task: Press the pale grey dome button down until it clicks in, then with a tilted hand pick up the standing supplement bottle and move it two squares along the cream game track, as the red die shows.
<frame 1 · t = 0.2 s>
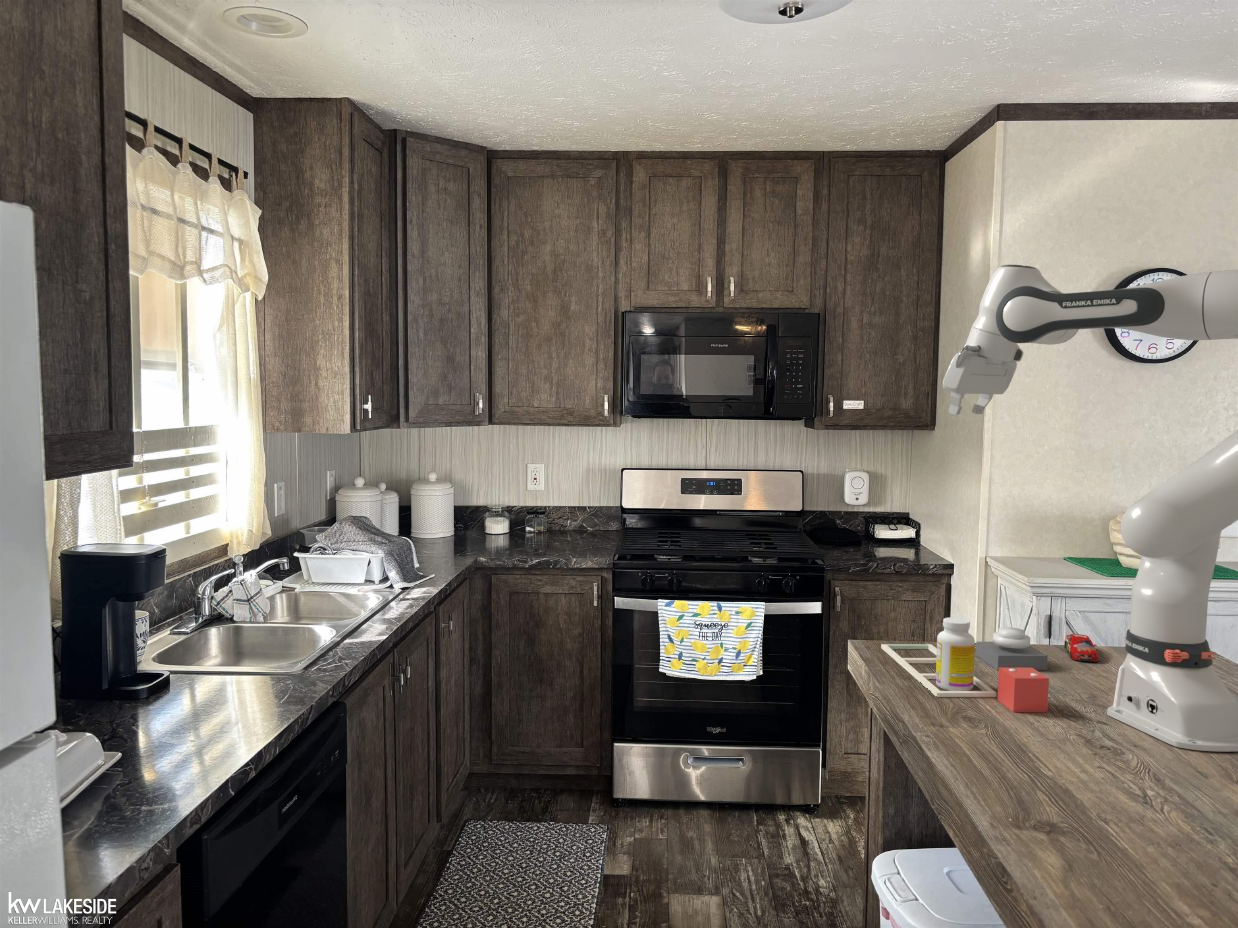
hand: (965, 413, 173), 51 cm above the table, tool tilted 20°, fingers open, 8 cm apart
race car: (1080, 656, 185), on the table
dome: (1011, 636, 178), point 5 cm above the table, slide at 0.0 cm
dome base: (1010, 662, 179), on the table
supplement bottle: (954, 688, 163), resting in track
track: (933, 670, 173), on the table
die: (1021, 705, 154), on the table
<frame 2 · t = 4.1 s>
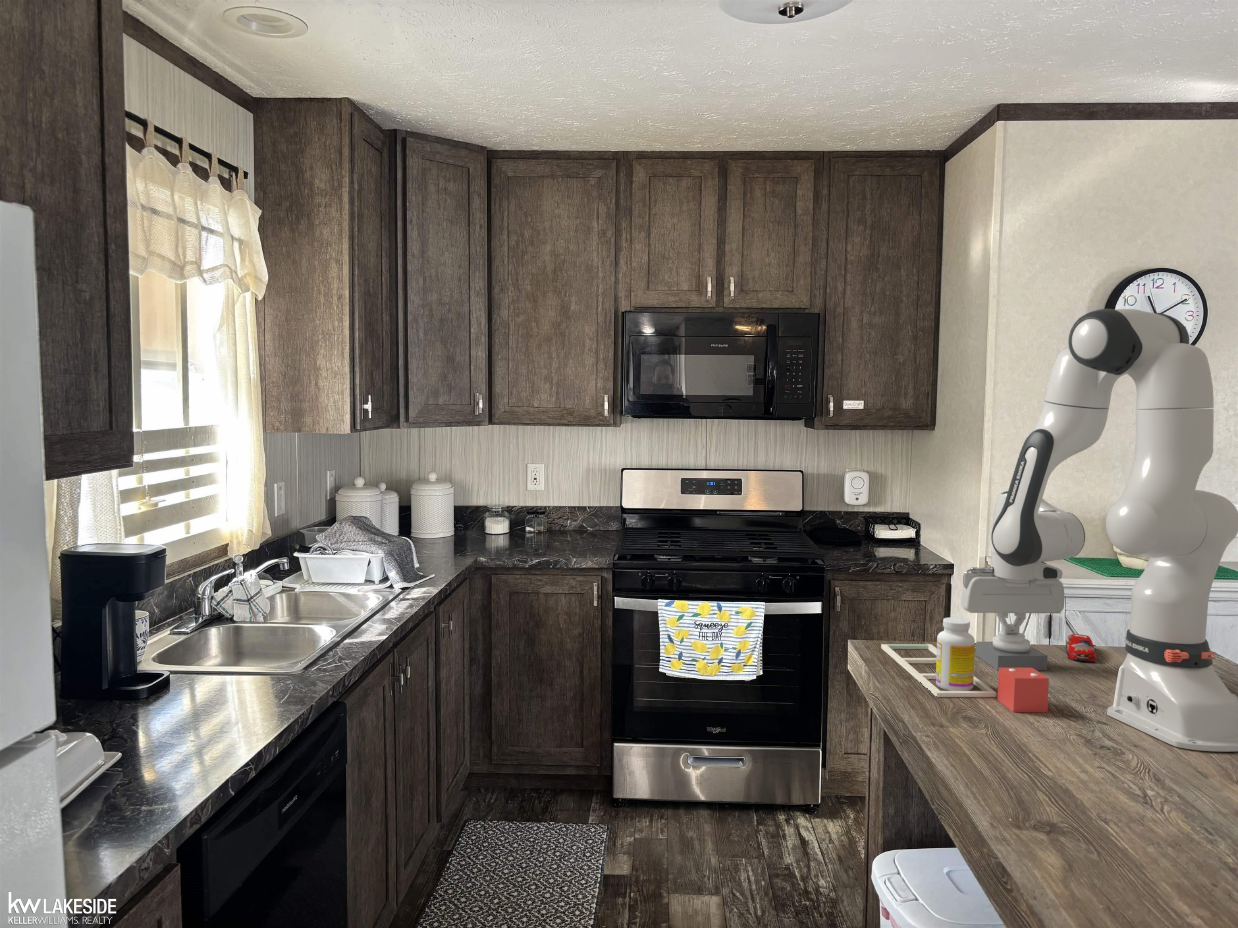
hand: (1010, 633, 179), 6 cm above the table, tool pointing down, fingers closed, pressing on dome
dome: (1011, 640, 178), point 5 cm above the table, slide at 0.8 cm, touching gripper
everything else where it was.
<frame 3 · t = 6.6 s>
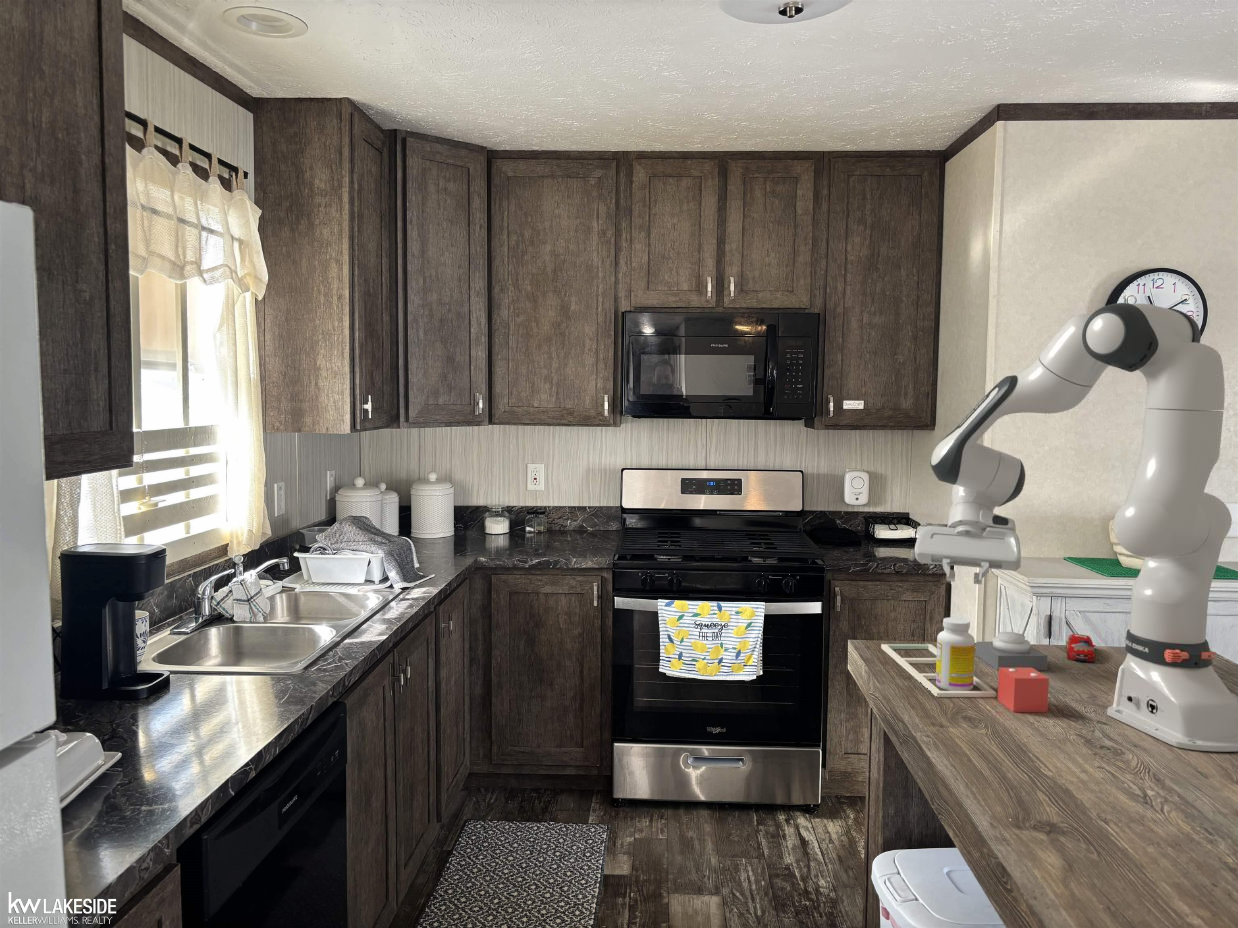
hand: (963, 581, 173), 18 cm above the table, tool tilted 45°, fingers open, 4 cm apart
dome: (1011, 641, 178), point 4 cm above the table, slide at 1.0 cm
everything else where it was.
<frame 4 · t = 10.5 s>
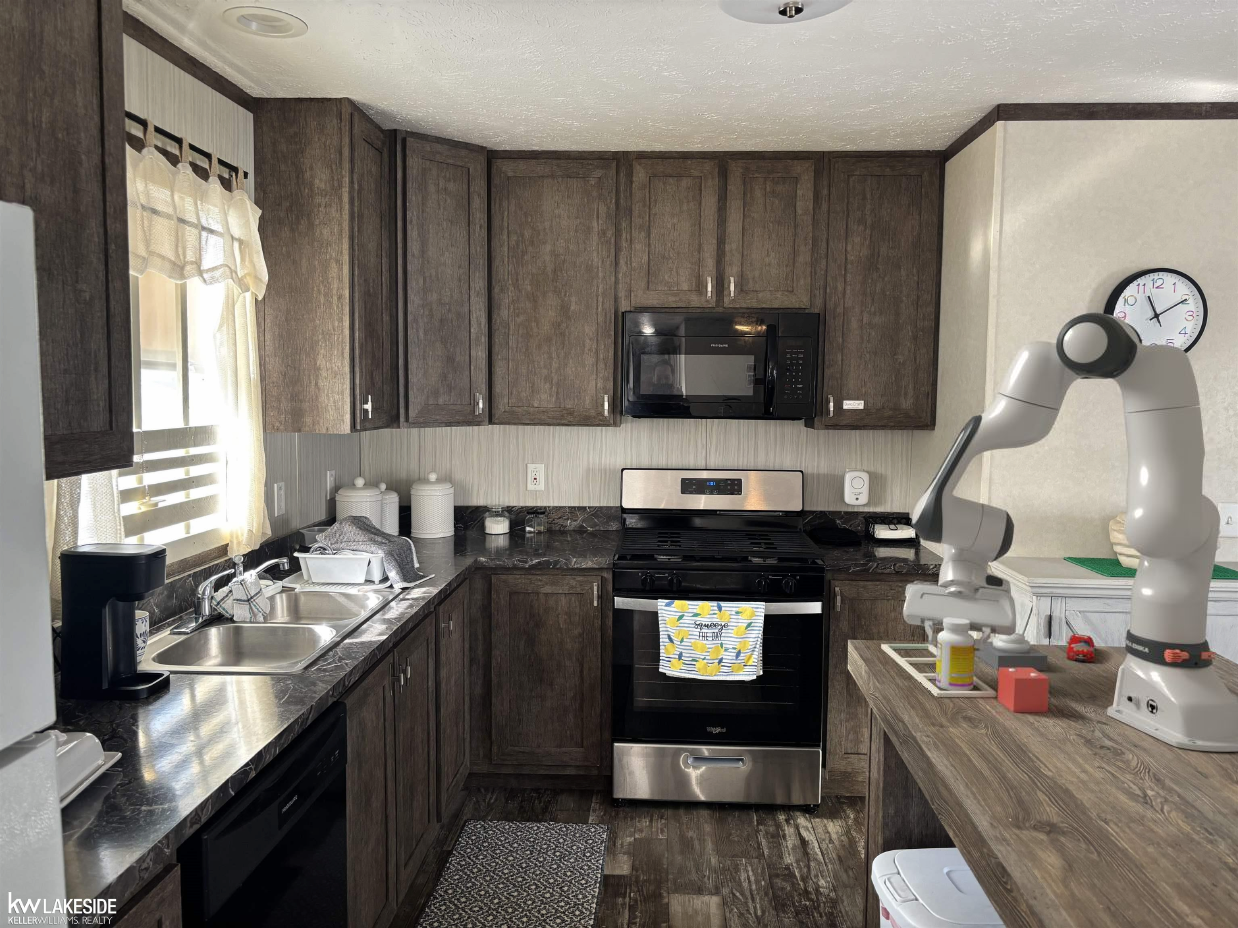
hand: (955, 646, 162), 8 cm above the table, tool tilted 45°, fingers closed on supplement bottle, 7 cm apart
supplement bottle: (954, 687, 163), resting in track, touching gripper
everything else where it was.
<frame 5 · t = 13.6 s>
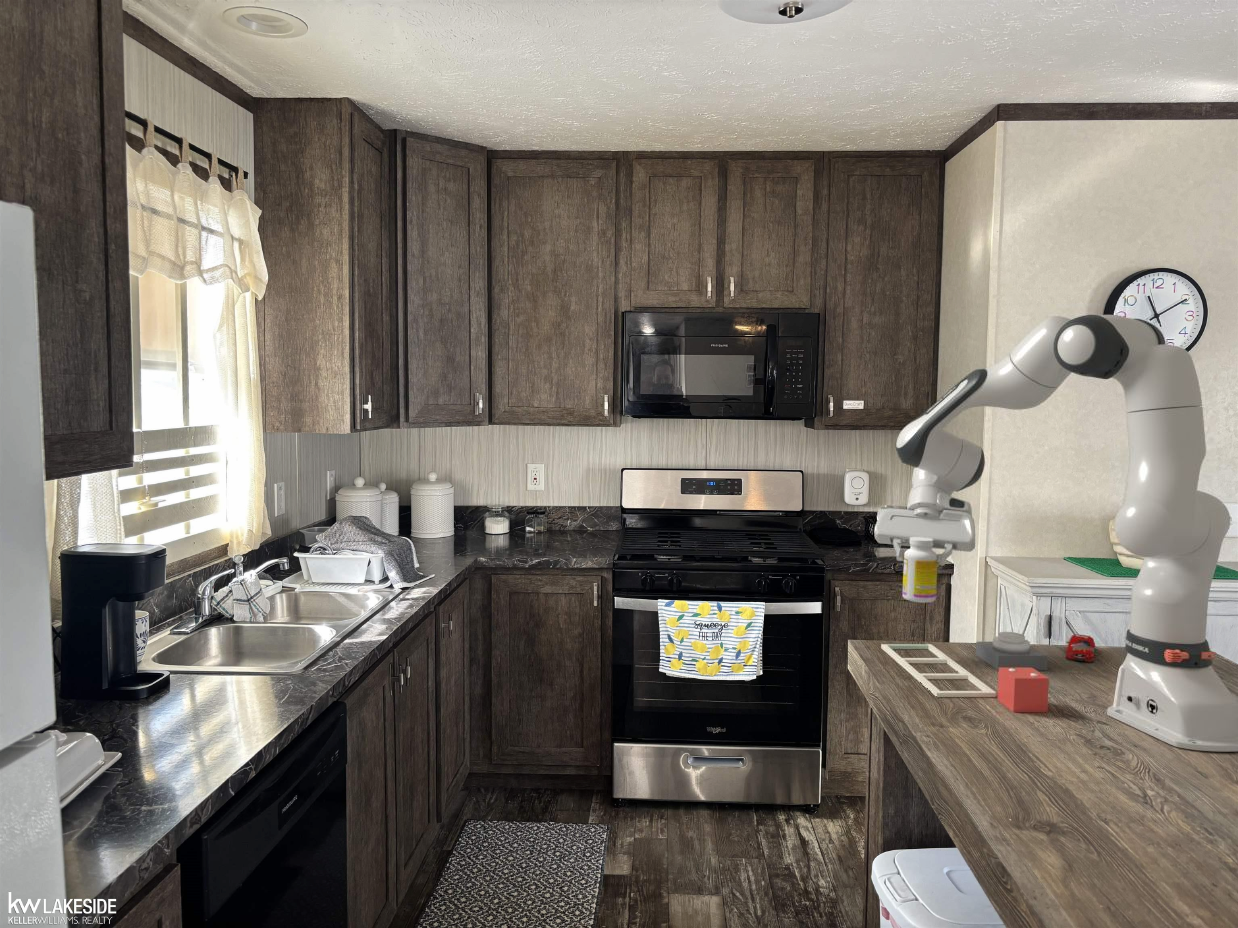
hand: (920, 561, 179), 21 cm above the table, tool tilted 45°, fingers closed on supplement bottle, 7 cm apart
supplement bottle: (918, 600, 181), point 12 cm above the table, touching gripper
everything else where it was.
when the fingers open (9 cm above the table, at t = 16.4 s): supplement bottle drops 1 cm, resting in track.
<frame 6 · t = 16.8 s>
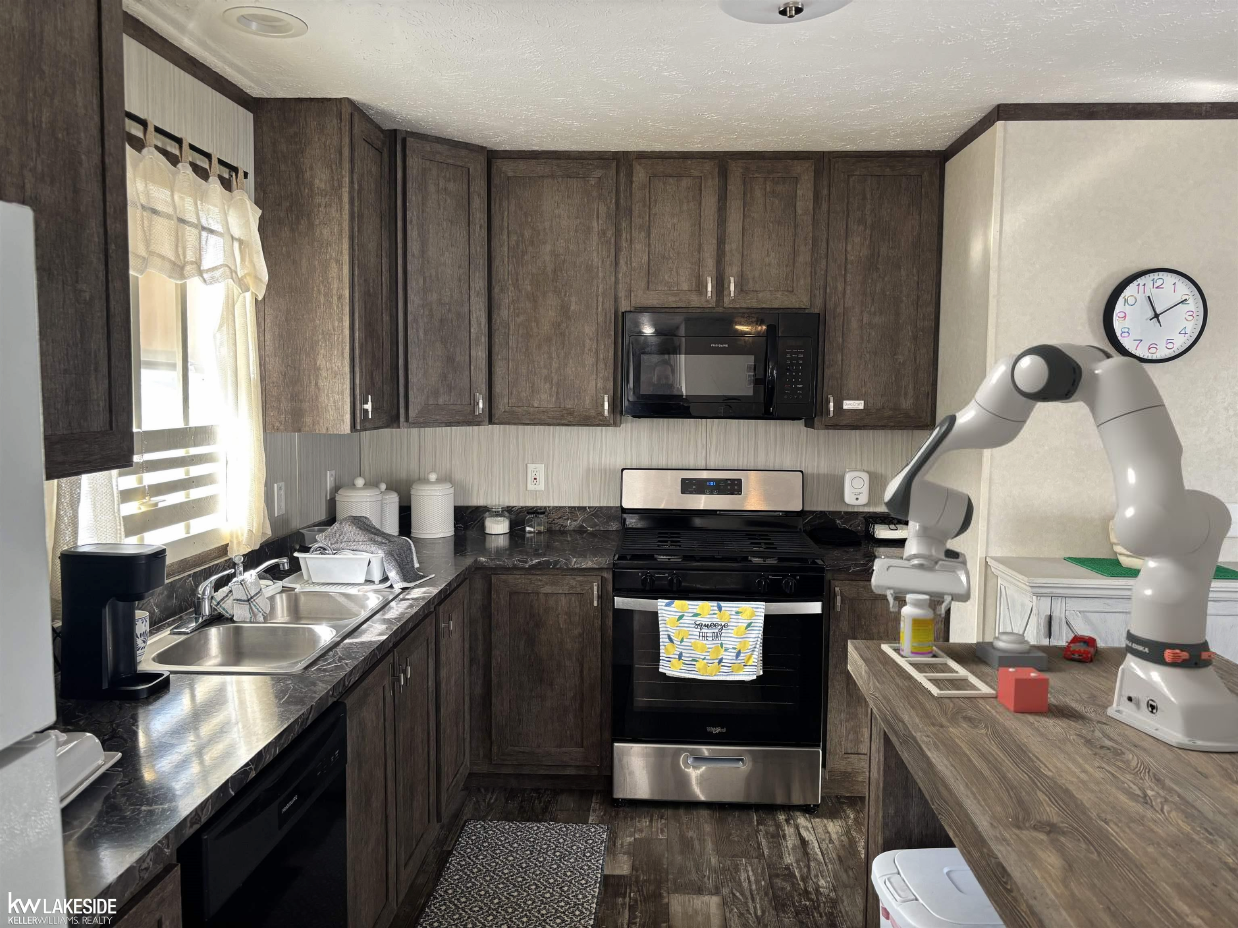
hand: (916, 612, 182), 9 cm above the table, tool tilted 45°, fingers open, 8 cm apart
supplement bottle: (916, 656, 183), resting in track
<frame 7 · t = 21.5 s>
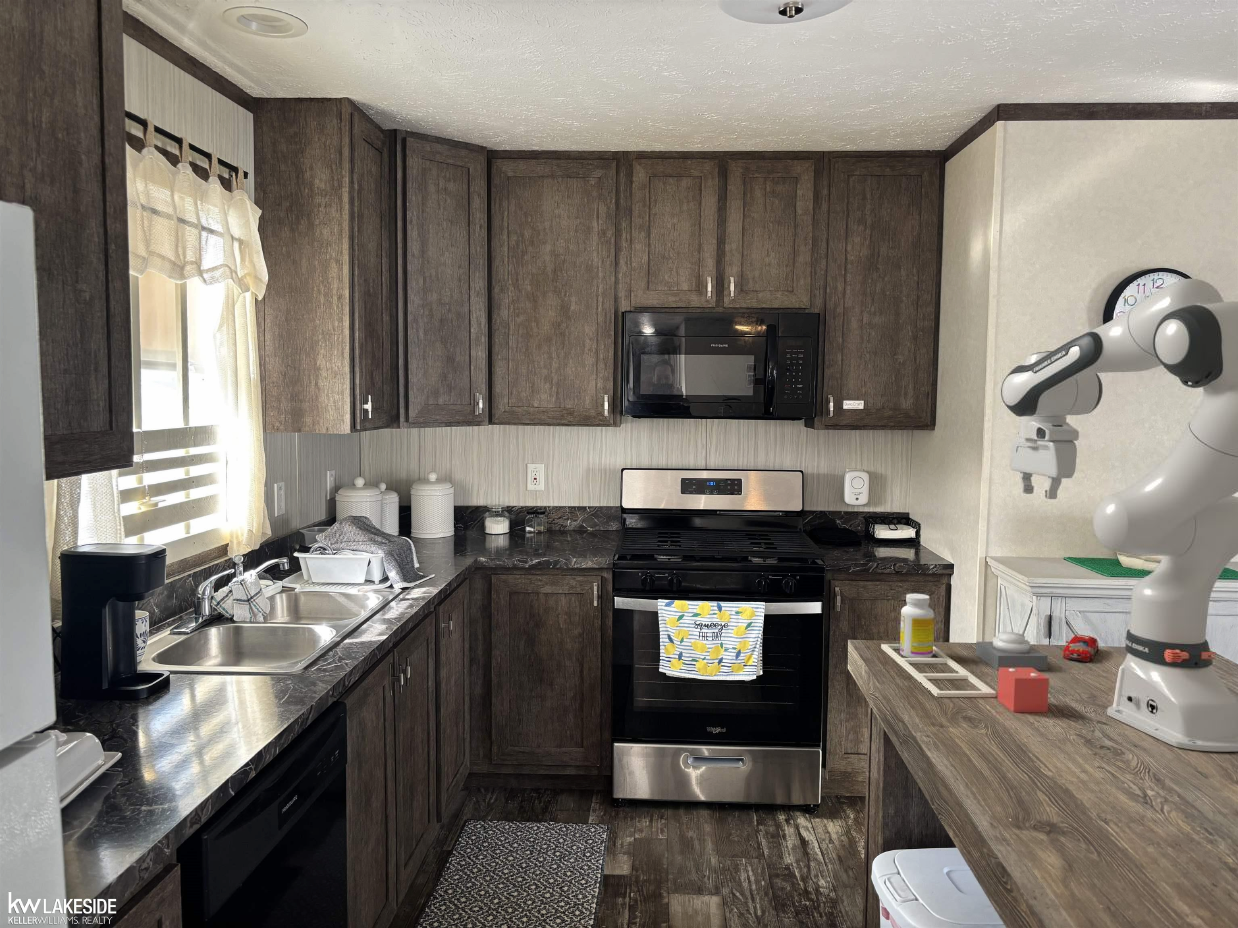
hand: (1039, 496, 181), 34 cm above the table, tool pointing down, fingers open, 8 cm apart
at the end: dome slide at 1.0 cm; supplement bottle 0.1 cm from the target spot, resting in track; supplement bottle tilted 0° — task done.
